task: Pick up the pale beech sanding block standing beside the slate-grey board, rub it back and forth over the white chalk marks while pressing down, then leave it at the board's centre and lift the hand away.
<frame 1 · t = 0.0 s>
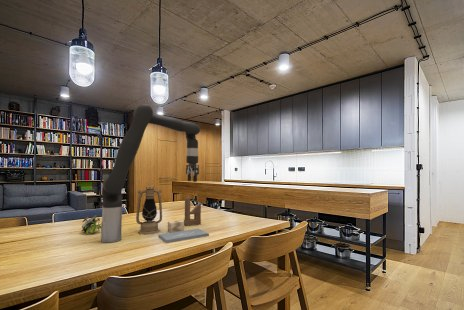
hand: (192, 181, 153), 29 cm above the table, tool pointing down, fingers open, 8 cm apart
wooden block: (192, 225, 162), on the table
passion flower: (92, 232, 142), on the table
lantern: (149, 232, 143), on the table
sanding block: (175, 232, 143), on the table
slate board: (183, 236, 133), on the table
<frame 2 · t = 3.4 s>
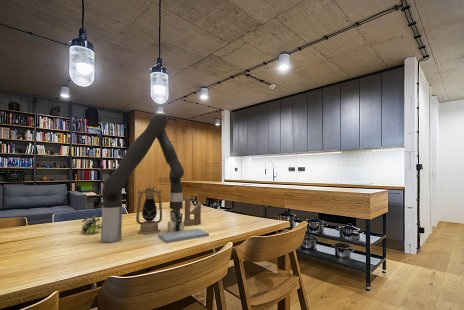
hand: (175, 229, 143), 1 cm above the table, tool pointing down, fingers closed on sanding block, 5 cm apart
sanding block: (175, 231, 143), on the table, touching gripper
everything else where it was.
when the fingers open (3 cm above the table, at t = 17.0 s): sanding block stays where it is, resting on slate board.
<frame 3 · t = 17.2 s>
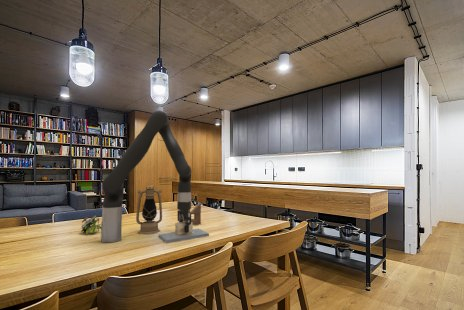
hand: (183, 230, 133), 3 cm above the table, tool pointing down, fingers open, 7 cm apart
sanding block: (183, 233, 133), point 2 cm above the table, touching slate board
everything else where it was.
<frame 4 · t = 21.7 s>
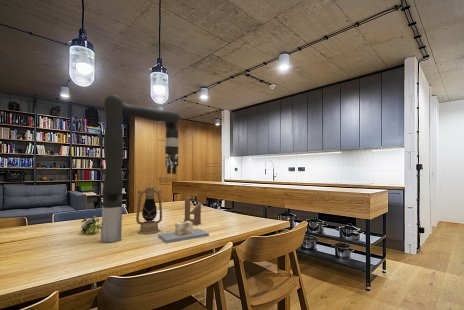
hand: (171, 173, 141), 34 cm above the table, tool pointing down, fingers open, 8 cm apart
nothing on the table moved.
at the end: sanding block inside the target area on the slate board (0.0 cm from its centre), point 1.5 cm above the slate board's base; sanding block tilted 0°; the gripper is holding nothing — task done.
